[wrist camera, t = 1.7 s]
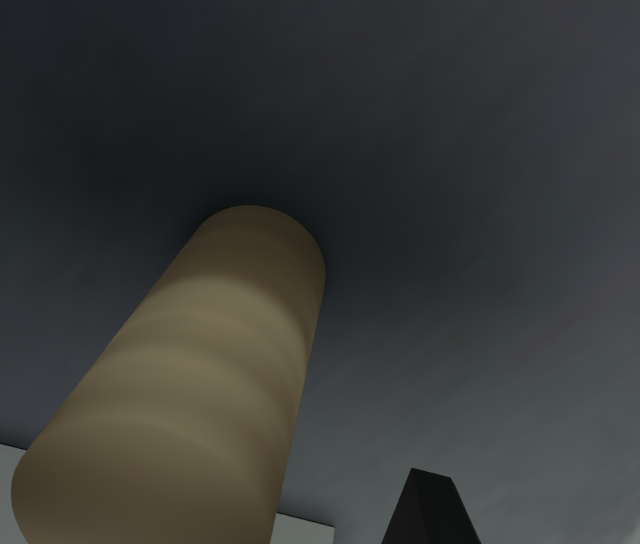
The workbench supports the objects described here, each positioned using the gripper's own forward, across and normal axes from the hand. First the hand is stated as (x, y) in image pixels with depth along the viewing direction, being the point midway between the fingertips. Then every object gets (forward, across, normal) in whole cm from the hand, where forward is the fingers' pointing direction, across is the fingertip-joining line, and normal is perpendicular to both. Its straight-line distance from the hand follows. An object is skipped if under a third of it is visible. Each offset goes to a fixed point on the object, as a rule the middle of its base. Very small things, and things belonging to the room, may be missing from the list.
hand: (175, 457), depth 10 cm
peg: (+7, 0, 0) cm, 7 cm away
